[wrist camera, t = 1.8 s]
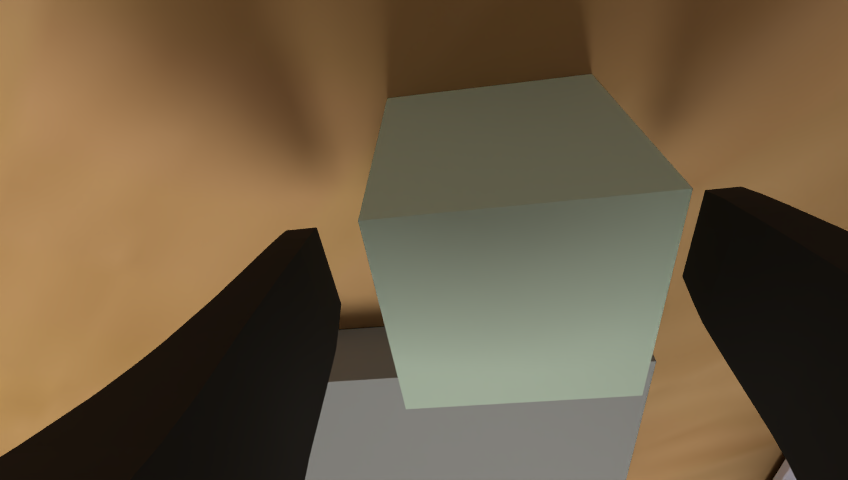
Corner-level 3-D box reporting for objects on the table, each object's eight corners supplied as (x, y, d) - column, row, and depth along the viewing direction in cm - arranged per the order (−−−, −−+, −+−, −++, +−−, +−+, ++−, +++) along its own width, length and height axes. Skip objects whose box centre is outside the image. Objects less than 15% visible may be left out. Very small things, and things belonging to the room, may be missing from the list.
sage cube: (591, 72, 10) (692, 188, 6) (577, 238, 13) (642, 395, 9) (387, 97, 11) (358, 220, 7) (415, 253, 13) (406, 409, 9)
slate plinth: (630, 308, 14) (655, 361, 13) (600, 475, 20) (614, 525, 18) (252, 336, 15) (230, 388, 14) (327, 486, 21) (318, 535, 20)
